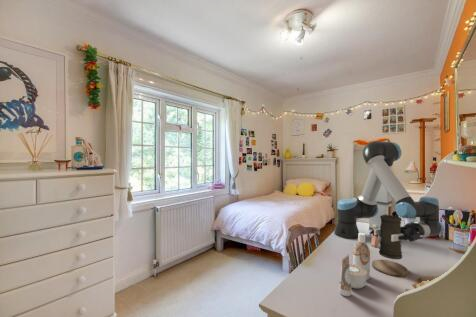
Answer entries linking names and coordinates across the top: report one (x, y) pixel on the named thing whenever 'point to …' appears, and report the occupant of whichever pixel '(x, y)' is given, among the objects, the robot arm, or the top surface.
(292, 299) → the top surface
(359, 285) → the cosmetic set
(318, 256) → the top surface
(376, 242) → the grandmother figurine
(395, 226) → the container
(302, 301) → the top surface
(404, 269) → the walnut board
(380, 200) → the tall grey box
